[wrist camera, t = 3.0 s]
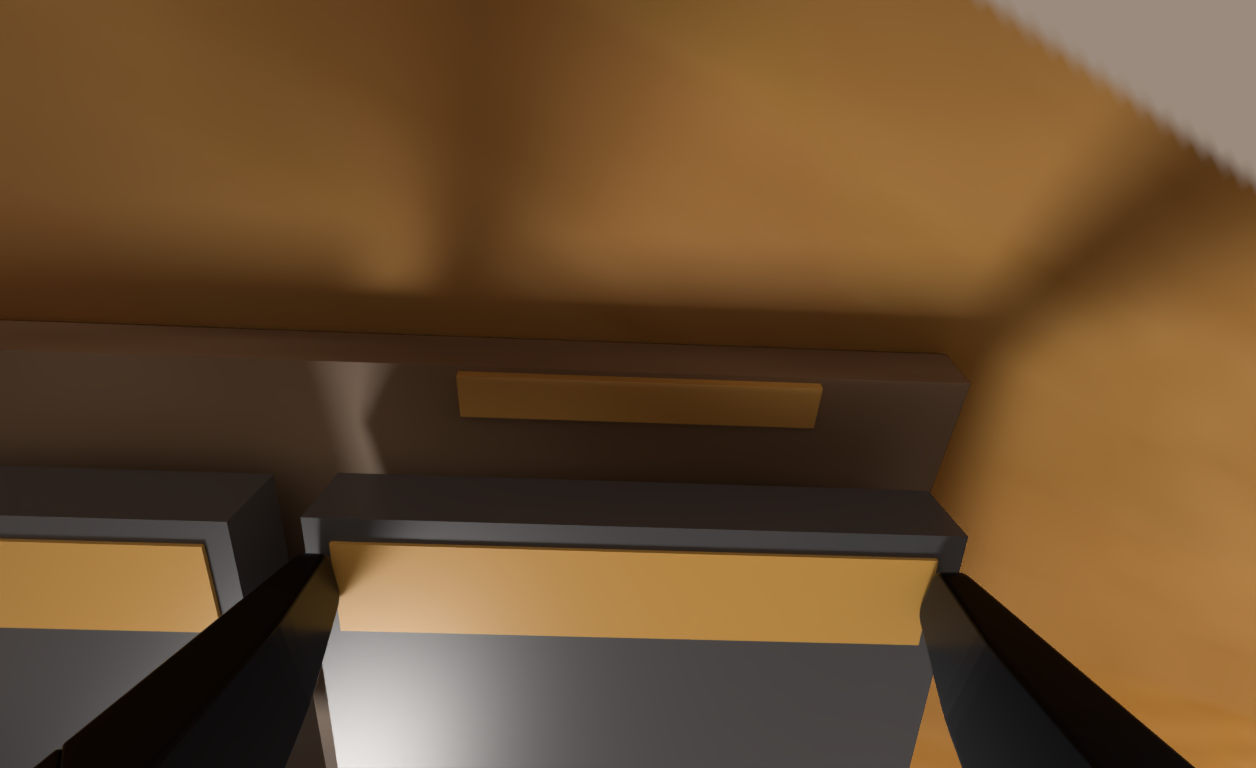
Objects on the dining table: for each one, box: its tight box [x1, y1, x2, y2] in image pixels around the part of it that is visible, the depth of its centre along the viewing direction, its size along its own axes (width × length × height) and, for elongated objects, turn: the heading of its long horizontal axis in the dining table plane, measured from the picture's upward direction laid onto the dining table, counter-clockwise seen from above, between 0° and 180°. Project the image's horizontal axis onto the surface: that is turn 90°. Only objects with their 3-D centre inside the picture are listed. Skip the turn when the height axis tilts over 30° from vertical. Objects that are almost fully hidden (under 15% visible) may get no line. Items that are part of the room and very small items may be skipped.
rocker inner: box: [0, 466, 326, 768], centre depth 12 cm, size 10×10×2 cm
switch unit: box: [0, 320, 970, 768], centre depth 14 cm, size 13×22×2 cm, turn 88°
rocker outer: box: [301, 473, 968, 768], centre depth 12 cm, size 10×10×2 cm
